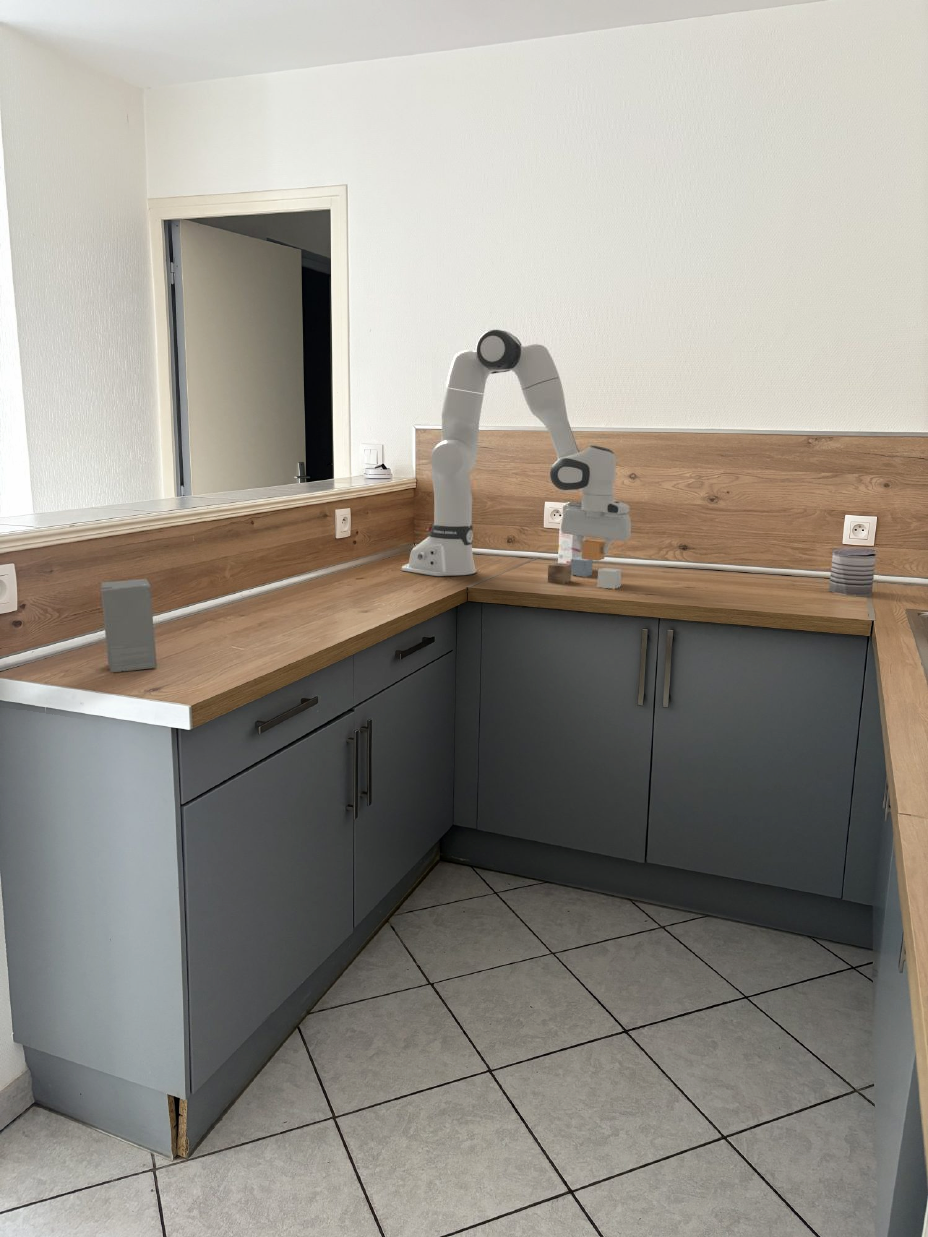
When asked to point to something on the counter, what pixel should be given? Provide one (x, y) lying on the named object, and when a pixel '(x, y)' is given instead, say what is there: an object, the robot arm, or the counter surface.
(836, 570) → the can
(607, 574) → the grey cube
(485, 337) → the robot arm
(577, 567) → the slate cube
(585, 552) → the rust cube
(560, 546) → the ink cartridge box
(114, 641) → the skincare box
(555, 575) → the walnut cube
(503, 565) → the counter surface
